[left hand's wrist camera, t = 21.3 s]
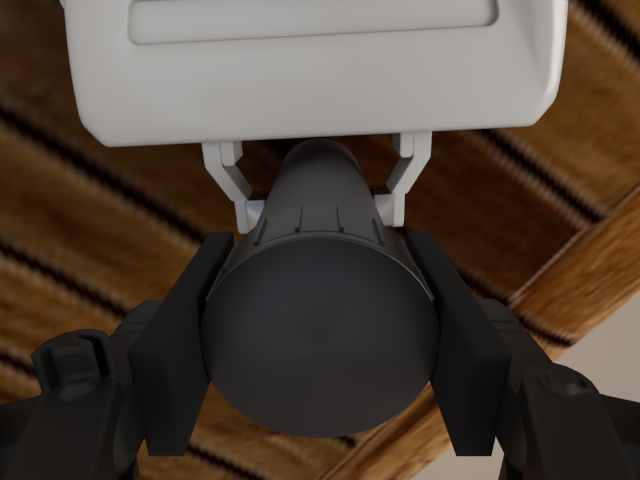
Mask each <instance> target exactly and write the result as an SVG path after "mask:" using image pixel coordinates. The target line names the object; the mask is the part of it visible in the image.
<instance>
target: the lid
mask: <svg viewBox="0 0 640 480" xmlns="http://www.w3.org/2000/svg"><path fill="white" fill-rule="evenodd" d="M434 303H436V301H435V298H434V297H433V295H432V293H431V291H430V289H429V287H428V285H427V283H426V281H425V279H424V277H423V275H422V273H421V271H420V269H418V268H417V266H416V264H415V262H414V260H413V258H412V256H411V254H410V252H409V250H408V248H407V246H406V244H405V242H404V241H403V239H402V240H401V241H400V240H399V239H398V238H397V237H396V235H395V234H393V233H392V232H391V231H390V230H389V229H388V228H386V227H385V226H384V225H382V224H381V223H379V222H378V220H377V218H375V217H373V218H371V217H369V216H367V215H364V214H362V213H360V212H357V211H354V210H350V209H347V208H342V207H341V205H337V207H336V206H324V205H315V206H304V207H302V205H299V206H298V208H293V209H290V210H287V211H284V212H281V213H278V214H276V215H274V216H272V217H269V218H267V219H266V218H263V219H262V221H261V223H259V224H258V225H256V226H255V227H254V228H252V229H251V230H250V231H249V232H248V233H247V234H246V235H245V236H244V237H243V238H242V239H241V240H240V241H236V242H235V244H234V246H233V248H232V250H231V251H230V253H229V255H228V257H227V259H226V261H225V263H224V265H223V267H222V269H221V270H220V272H219V274H218V276H217V278H216V280H215V282H214V284H213V286H212V288H211V289H210V291H209V293H208V295H207V297H206V299H205V302H204V304H206V305H205V308H204V311H203V314H202V318H201V323H200V344H201V352H202V359H203V363H204V366H205V368H206V371H207V373H208V375H209V377H210V379H211V381H212V383H213V384H214V386H215V387H216V389H217V390H218V391H219V393H220V394H221V395H222V396H223V397H224V399H225V400H226V401H227V402H228V403H229V404H230V405H231V406H233V407H234V408H235V409H236V410H238V411H239V412H240V413H241V414H243V415H244V416H246V417H247V418H249V419H251V420H252V421H254V422H256V423H258V424H260V425H262V426H264V427H267V428H269V429H272V430H275V431H278V432H281V433H285V434H289V435H294V436H301V437H310V438H330V437H340V436H346V435H351V434H355V433H359V432H363V431H365V430H368V429H371V428H374V427H376V426H378V425H380V424H382V423H384V422H386V421H388V420H390V419H391V418H393V417H394V416H396V415H397V414H399V413H400V412H401V411H403V410H404V409H405V408H406V407H408V406H409V405H410V404H411V403H412V402H413V401H414V400H415V399H416V398H417V397H418V396H419V394H420V393H421V392H422V390H423V389H424V388H425V386H426V385H427V383H428V381H429V379H430V377H431V376H432V374H433V371H434V369H435V366H436V363H437V361H438V354H439V346H440V338H441V331H440V322H439V317H438V314H437V310H436V307H435V305H434Z"/></svg>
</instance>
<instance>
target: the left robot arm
mask: <svg viewBox="0 0 640 480" xmlns="http://www.w3.org/2000/svg"><path fill="white" fill-rule="evenodd" d="M233 246H234V238H233V232H210V234H209V235H208V237H207V238H206V240H205V241H204V242H203V244H202V245H201V247H200V248H199V250H198V251H197V253H196V254H195V255H194V257H193V258H192V260H191V261H190V263H189V264H188V266H187V267H186V268H185V270H184V271H183V273H182V274H181V276H180V277H179V279H178V280H177V281H176V283H175V284H174V286H173V287H172V289H171V290H170V292H169V293H168V294H167V296H166V297H165V299H164V300H146V301H144V302H143V303H141V304H140V305H138V306H137V307H135V308H134V309H132V310H131V311H130V312H129V313H128V315H127V316H126V317H125V318H124V320H123V321H122V324H120V325H119V326H118V327H117V328H116V330H115V331H114V334H112V335H111V336H110V337H109V336H108V335H107V334H106V333H104V332H103V331H100V330H95V329H82V330H76V331H71V332H67V333H64V334H61V335H59V336H56V337H54V338H52V339H49V340H48V341H46V342H45V343H43V344H42V345H40V346H39V347H38V348H37V349H36V350H35V351H34V352H33V353H32V355H31V359H32V362H33V365H34V368H35V371H36V375H37V378H38V381H39V384H40V387H41V390H42V392H41V394H40V396H36V397H33V398H28V399H24V400H19V401H14V402H10V403H5V404H0V480H138V479H139V467H138V461H137V457H136V455H137V453H138V451H139V448H140V446H141V444H142V442H143V440H144V438H145V440H146V445H147V449H148V454H149V456H184V454H185V451H186V448H187V446H188V443H189V440H190V437H191V434H192V432H193V429H194V426H195V423H196V420H197V418H198V415H199V412H200V409H201V406H202V404H203V401H204V398H205V395H206V392H207V390H208V387H209V384H210V381H211V379H210V377H209V375H208V373H207V371H206V368H205V366H204V363H203V359H202V352H201V344H200V323H201V318H202V314H203V311H204V308H205V305H206V304H204V302H205V299H206V297H207V295H208V293H209V291H210V289H211V288H212V286H213V284H214V282H215V280H216V278H217V276H218V274H219V272H220V270H221V269H222V267H223V265H224V263H225V261H226V259H227V257H228V255H229V253H230V251H231V250H232V248H233ZM406 246H407V248H408V250H409V252H410V254H411V256H412V258H413V260H414V262H415V264H416V266H417V268H418V269H420V271H421V273H422V275H423V277H424V279H425V281H426V283H427V285H428V287H429V289H430V291H431V293H432V295H433V297H434V298H435V301H436V303H434V305H435V307H436V310H437V314H438V317H439V322H440V331H441V338H440V346H439V354H438V361H437V363H436V366H435V369H434V371H433V374H432V376H431V377H430V379H429V380H430V383H431V386H432V389H433V392H434V394H435V397H436V400H437V403H438V406H439V408H440V411H441V414H442V417H443V420H444V423H445V425H446V428H447V431H448V434H449V437H450V439H451V442H452V445H453V448H454V451H455V453H456V456H491V455H492V450H493V446H494V441H495V436H496V438H497V440H498V442H499V444H500V446H501V448H502V450H503V452H504V457H503V462H502V466H501V470H500V475H499V479H498V480H640V403H639V402H634V401H630V400H625V399H620V398H616V397H611V396H607V395H603V394H600V393H599V391H598V390H597V388H596V387H595V386H594V384H593V383H592V382H591V381H590V380H589V379H587V378H586V377H585V376H584V375H582V374H581V373H579V372H577V371H575V370H573V369H571V368H569V367H567V366H563V365H559V364H556V363H553V362H552V361H551V360H550V358H549V357H548V356H547V355H546V353H545V352H544V351H543V350H542V348H541V347H540V346H539V345H538V343H537V342H536V341H535V340H534V339H533V337H532V336H531V335H530V334H529V332H527V330H526V329H525V327H524V326H523V325H522V324H521V323H519V320H518V319H517V317H516V316H515V315H514V314H513V312H512V311H511V310H510V309H509V308H508V307H506V306H504V305H503V304H501V303H500V302H498V301H497V300H495V299H476V298H475V297H474V295H473V294H472V293H471V291H470V290H469V288H468V287H467V285H466V284H465V282H464V281H463V280H462V278H461V277H460V275H459V274H458V272H457V271H456V269H455V268H454V267H453V265H452V264H451V262H450V261H449V259H448V258H447V256H446V255H445V254H444V252H443V251H442V249H441V248H440V246H439V245H438V243H437V242H436V241H435V239H434V238H433V236H432V235H431V233H430V232H407V241H406Z"/></svg>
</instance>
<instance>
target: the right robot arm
mask: <svg viewBox="0 0 640 480" xmlns="http://www.w3.org/2000/svg"><path fill="white" fill-rule="evenodd" d="M60 3H61V5H62V7H63V8H64V12H65V24H66V35H67V46H68V54H69V61H70V69H71V75H72V82H73V88H74V93H75V98H76V103H77V108H78V112H79V116H80V119H81V122H82V124H83V126H84V127H85V128H86V129H87V130H88V131H89V132H90V133H91V134H92V135H93V136H94V137H95V138H96V139H97V140H98V141H99V142H101V143H102V144H103V145H104V146H107V147H124V146H144V145H164V144H184V143H202V150H203V156H204V163H205V168H206V169H207V170H208V172H209V173H210V174H211V176H212V177H213V178H214V179H215V181H216V182H217V183H218V185H219V186H220V187H221V188H222V190H223V191H224V192H225V193H226V195H227V196H228V197H229V199H230V200H231V201H234V202H235V210H236V217H237V225H238V231H239V233H240V234H247V233H248V232H249V231H250V230H251V229H252V228H254V227H255V226H256V224H257V221H258V219H259V217H260V214H261V212H262V210H263V207H264V205H265V203H266V200H267V198H268V196H269V191H253V189H252V188H251V186H250V185H249V183H248V182H247V180H246V179H245V178H244V176H243V175H242V173H241V172H240V170H239V169H238V167H237V166H236V164H235V163H236V162H237V161H238V160H239V159H240V158H241V156H242V155H243V152H242V143H241V141H245V140H265V139H285V138H305V137H325V136H345V135H365V134H385V133H393V148H394V150H395V151H396V152H397V153H398V154H399V155H400V156H401V157H400V159H399V160H398V162H397V164H396V166H395V168H394V169H393V171H392V173H391V175H390V177H389V178H388V180H387V182H386V185H376V186H370V193H371V195H372V198H373V200H374V202H375V205H376V207H377V209H378V212H379V214H380V217H381V219H382V221H383V224H384V226H385V227H399V226H403V222H404V197H405V193H408V191H409V190H410V188H411V186H412V185H413V183H414V182H415V180H416V179H417V177H418V176H419V174H420V172H421V171H422V169H423V168H424V166H425V165H426V163H427V161H428V160H429V158H430V155H431V137H432V131H445V130H465V129H485V128H505V127H524V126H531V125H533V124H534V123H536V121H537V120H538V119H539V118H540V117H541V116H542V115H543V114H544V113H545V111H546V110H547V109H548V108H549V107H550V105H551V104H552V103H553V102H554V100H555V98H556V95H557V91H558V88H559V82H560V77H561V70H562V63H563V55H564V47H565V37H566V26H567V12H568V0H60Z"/></svg>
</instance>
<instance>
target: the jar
mask: <svg viewBox="0 0 640 480" xmlns="http://www.w3.org/2000/svg"><path fill="white" fill-rule="evenodd" d="M299 205H302V207H304V206H315V205H324V206H336V207H337V205H341V207H342V208H347V209H350V210H354V211H357V212H360V213H362V214H364V215H367V216H369V217H371V218H373V217H375V218H377V220H378V222H379V223H381V224H382V225H384V224H383V221H382V219H381V217H380V214H379V212H378V209H377V207H376V205H375V202H374V200H373V198H372V195H371V193H370V191H369V188H368V186H367V184H366V181H365V179H364V177H363V174H362V172H361V170H360V167H359V165H358V162H357V160H356V159H355V157H354V155H353V154H352V153H351V152H350V151H349V150H348V149H347V148H346V147H345V146H344V145H342V144H340V143H339V142H336V141H334V140H331V139H325V138H315V139H310V140H306V141H304V142H301V143H300V144H298V145H296V146H295V147H294V148H293V149H292V150H291V151H290V152H289V153H288V154H287V155H286V157H285V159H284V160H283V163H282V165H281V167H280V170H279V172H278V174H277V177H276V179H275V181H274V184H273V186H272V188H271V191H270V193H269V196H268V198H267V200H266V203H265V205H264V207H263V210H262V212H261V214H260V217H259V219H258V221H257V224H256V225H258V224H259V223H261V221H262V219H263V218H266V219H267V218H269V217H272V216H274V215H276V214H278V213H281V212H284V211H287V210H290V209H293V208H298V206H299Z"/></svg>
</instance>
